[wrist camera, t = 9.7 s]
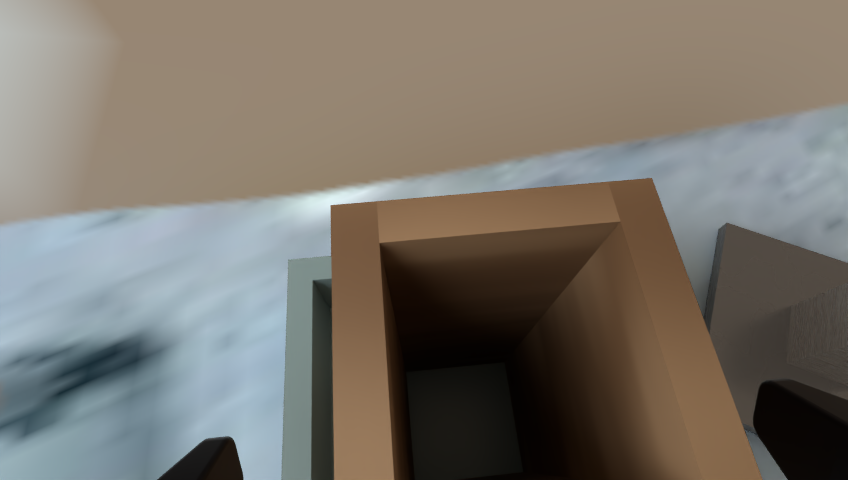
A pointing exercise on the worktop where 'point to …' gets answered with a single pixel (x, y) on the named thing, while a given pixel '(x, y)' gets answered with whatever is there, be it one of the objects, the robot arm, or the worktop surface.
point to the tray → (427, 394)
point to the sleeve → (531, 332)
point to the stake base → (776, 316)
